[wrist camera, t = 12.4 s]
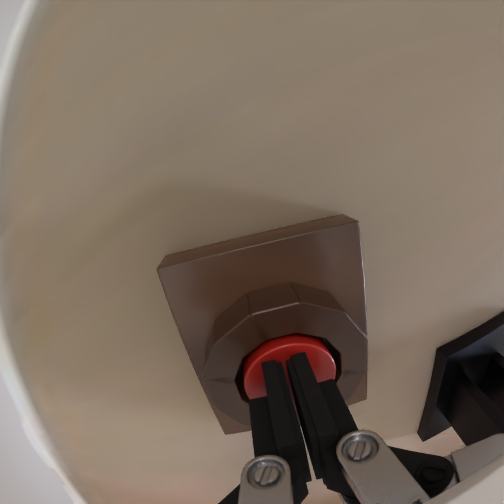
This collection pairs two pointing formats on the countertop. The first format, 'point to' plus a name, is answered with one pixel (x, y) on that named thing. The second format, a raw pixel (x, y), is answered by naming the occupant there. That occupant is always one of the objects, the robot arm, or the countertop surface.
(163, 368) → the countertop surface
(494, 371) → the black lever base
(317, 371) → the button
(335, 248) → the button block
